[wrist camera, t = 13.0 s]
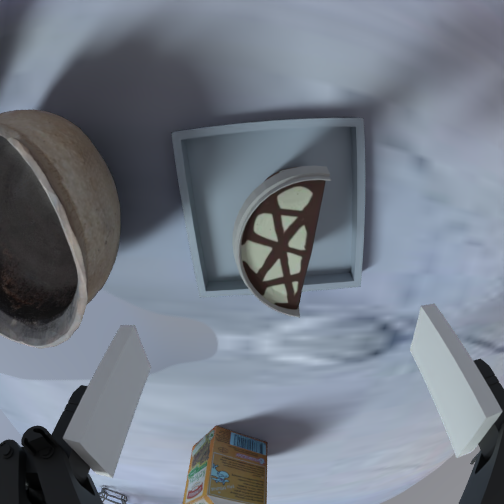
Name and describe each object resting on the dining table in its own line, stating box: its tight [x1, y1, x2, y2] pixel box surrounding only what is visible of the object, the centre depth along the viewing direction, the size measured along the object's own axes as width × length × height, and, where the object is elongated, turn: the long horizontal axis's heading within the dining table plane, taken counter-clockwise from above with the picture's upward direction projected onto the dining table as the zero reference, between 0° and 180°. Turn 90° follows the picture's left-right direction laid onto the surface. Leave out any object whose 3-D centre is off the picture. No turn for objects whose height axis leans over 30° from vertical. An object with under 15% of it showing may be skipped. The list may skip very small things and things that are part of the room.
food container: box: [232, 166, 331, 318], centre depth 27 cm, size 12×6×10 cm, turn 173°
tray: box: [171, 117, 365, 298], centre depth 31 cm, size 18×18×2 cm
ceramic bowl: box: [0, 110, 121, 348], centre depth 26 cm, size 22×22×15 cm
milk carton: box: [183, 426, 267, 504], centre depth 43 cm, size 11×11×19 cm
